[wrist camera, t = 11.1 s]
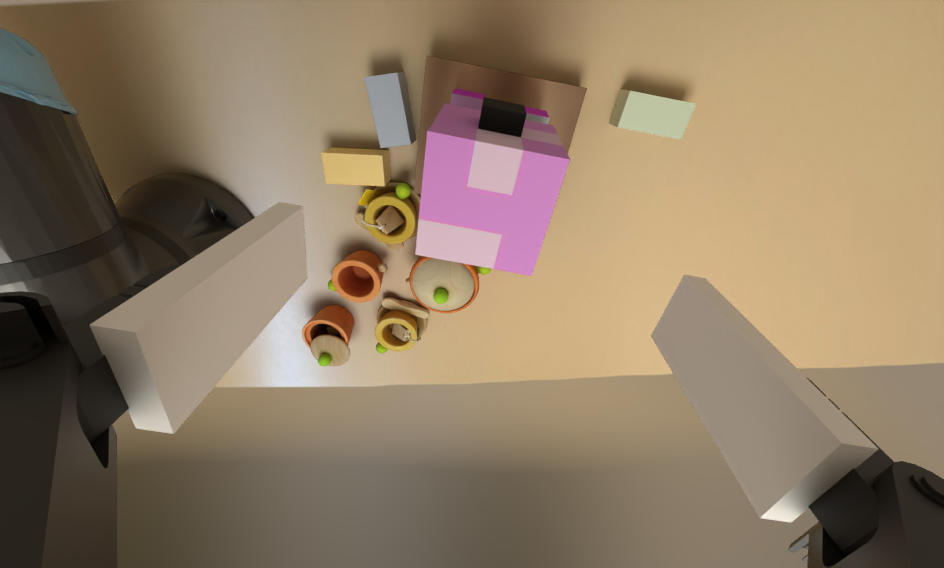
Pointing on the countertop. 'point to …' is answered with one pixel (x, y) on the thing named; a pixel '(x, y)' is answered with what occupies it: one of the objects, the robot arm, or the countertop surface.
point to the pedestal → (496, 85)
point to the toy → (489, 183)
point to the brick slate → (391, 109)
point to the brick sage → (651, 114)
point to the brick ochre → (356, 166)
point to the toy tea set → (361, 279)
